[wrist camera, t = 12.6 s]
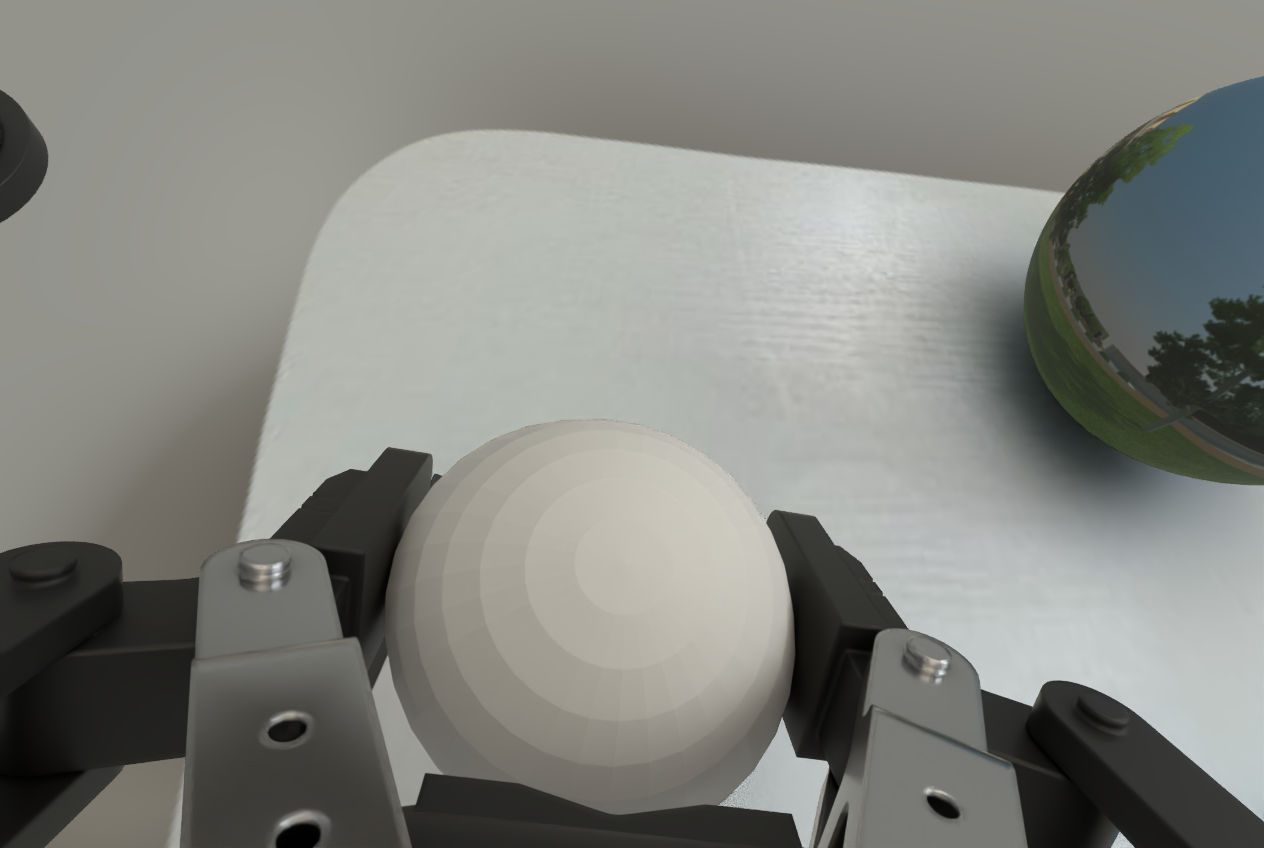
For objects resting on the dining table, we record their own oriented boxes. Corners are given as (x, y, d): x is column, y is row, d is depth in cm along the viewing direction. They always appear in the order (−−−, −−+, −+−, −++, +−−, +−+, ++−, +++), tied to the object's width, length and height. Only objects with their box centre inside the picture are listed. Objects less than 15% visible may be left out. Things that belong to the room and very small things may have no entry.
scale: (267, 842, 26) (235, 853, 23) (428, 491, 33) (420, 464, 30) (655, 963, 26) (675, 991, 23) (733, 592, 33) (757, 575, 30)
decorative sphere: (1300, 517, 41) (1901, 335, 24) (1026, 555, 37) (1508, 368, 19) (1147, 258, 49) (1510, -24, 32) (907, 264, 45) (1171, -57, 27)
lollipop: (681, 691, 22) (968, 584, 8) (542, 849, 19) (640, 1051, 6) (548, 551, 23) (617, 263, 10) (402, 682, 20) (222, 537, 7)
